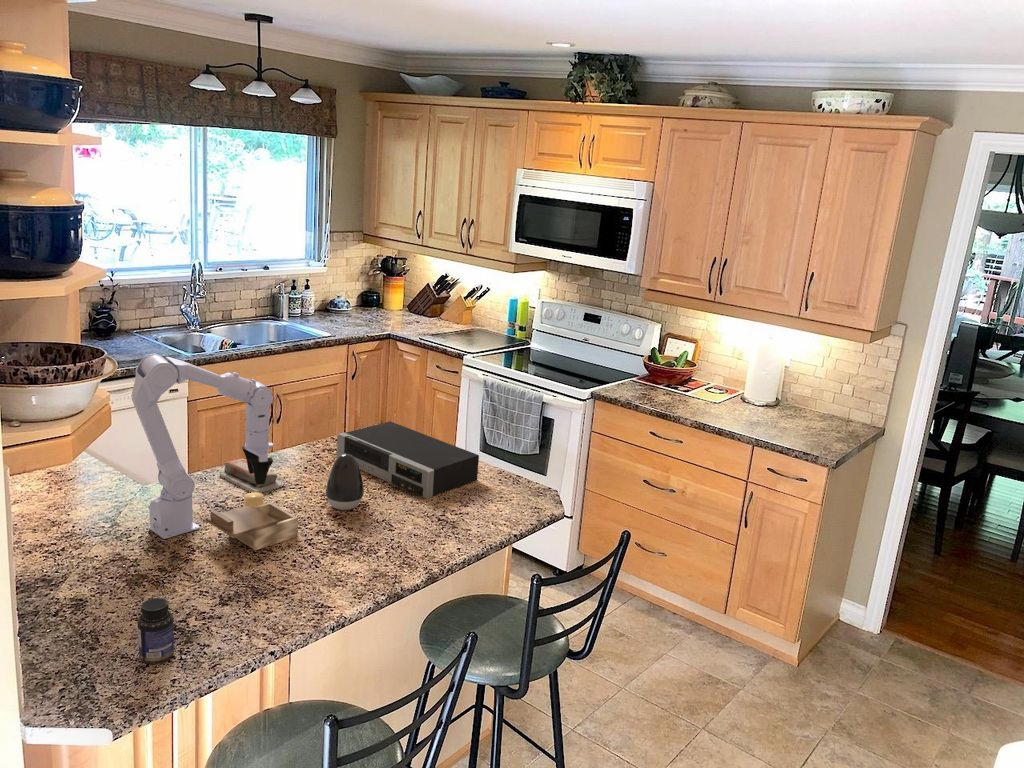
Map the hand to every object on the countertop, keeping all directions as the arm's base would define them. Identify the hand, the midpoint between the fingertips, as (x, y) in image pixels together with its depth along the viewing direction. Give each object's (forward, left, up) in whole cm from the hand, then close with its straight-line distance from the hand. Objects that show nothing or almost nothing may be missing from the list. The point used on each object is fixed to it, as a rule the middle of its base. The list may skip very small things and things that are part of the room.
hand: (256, 478), depth 217 cm
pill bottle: (-49, -43, -10) cm, 66 cm away
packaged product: (+11, +19, -11) cm, 24 cm away
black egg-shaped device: (+20, -11, -10) cm, 25 cm away
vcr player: (+50, -1, -10) cm, 51 cm away
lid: (-12, -12, -5) cm, 17 cm away
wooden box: (-6, -12, -10) cm, 16 cm away
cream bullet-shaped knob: (-1, 0, -10) cm, 10 cm away
